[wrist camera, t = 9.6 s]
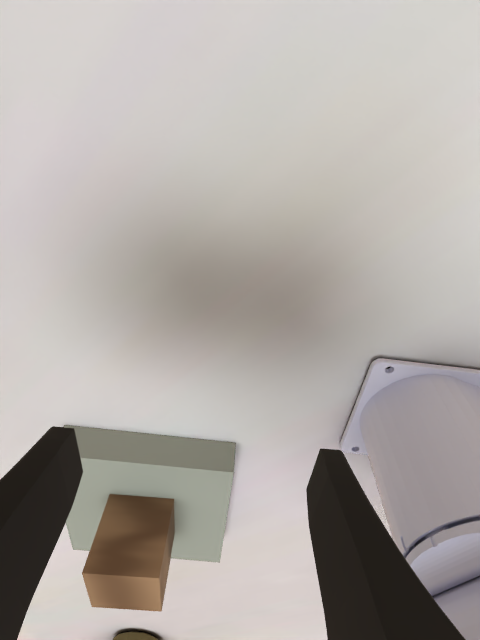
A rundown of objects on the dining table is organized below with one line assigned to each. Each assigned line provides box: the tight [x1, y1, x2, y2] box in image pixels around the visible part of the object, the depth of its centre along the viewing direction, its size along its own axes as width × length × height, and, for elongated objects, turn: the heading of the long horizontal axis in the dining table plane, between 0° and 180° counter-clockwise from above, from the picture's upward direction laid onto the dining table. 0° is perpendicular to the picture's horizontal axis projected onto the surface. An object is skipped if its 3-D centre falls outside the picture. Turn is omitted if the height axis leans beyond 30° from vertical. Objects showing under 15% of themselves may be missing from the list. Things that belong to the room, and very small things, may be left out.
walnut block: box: [82, 494, 175, 611], centre depth 25 cm, size 4×4×5 cm
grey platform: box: [64, 425, 235, 563], centre depth 29 cm, size 12×12×3 cm
